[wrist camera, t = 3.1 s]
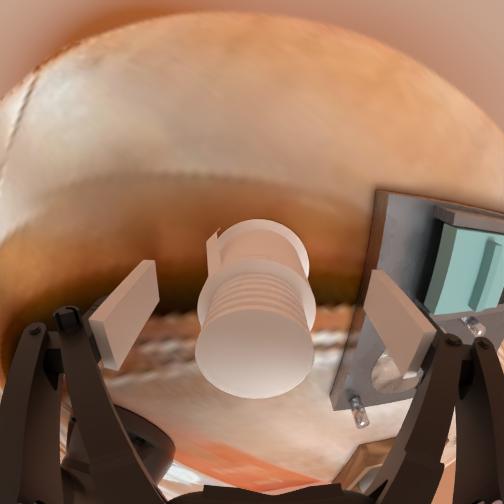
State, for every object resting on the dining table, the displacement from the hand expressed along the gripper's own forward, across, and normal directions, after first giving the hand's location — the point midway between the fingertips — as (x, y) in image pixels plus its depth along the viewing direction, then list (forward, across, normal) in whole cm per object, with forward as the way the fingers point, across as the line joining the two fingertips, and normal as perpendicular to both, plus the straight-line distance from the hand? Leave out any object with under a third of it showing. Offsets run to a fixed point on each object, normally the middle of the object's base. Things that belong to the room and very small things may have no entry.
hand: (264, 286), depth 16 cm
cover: (0, +16, +2) cm, 16 cm away
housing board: (+4, +19, -4) cm, 19 cm away
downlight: (+4, 0, 0) cm, 4 cm away
